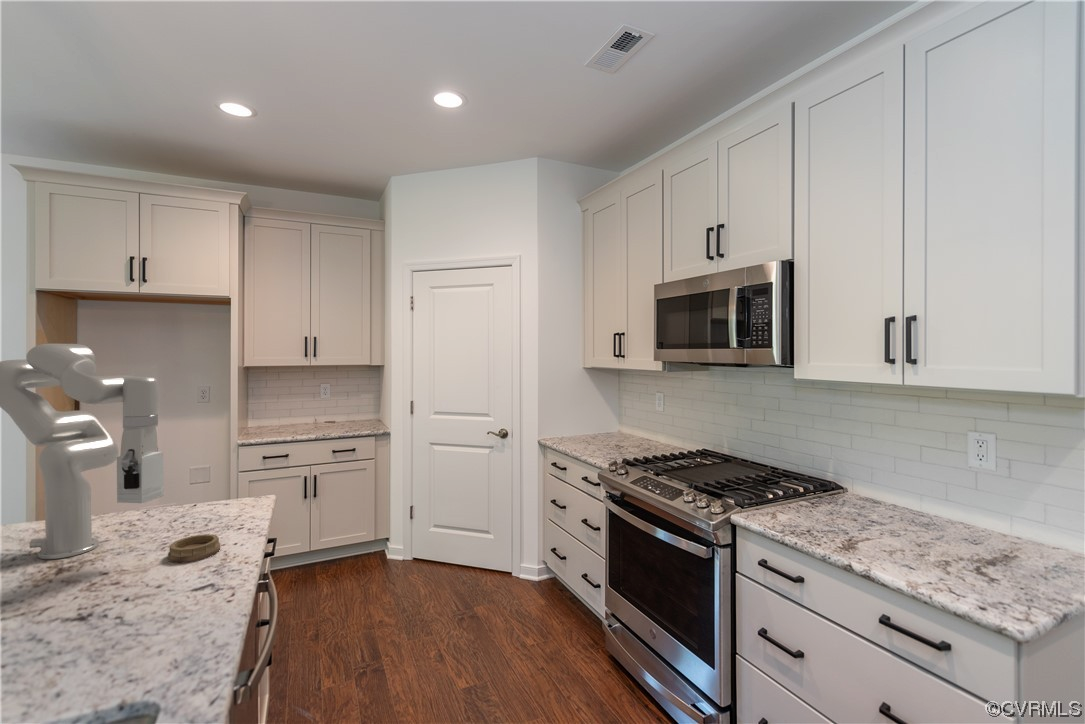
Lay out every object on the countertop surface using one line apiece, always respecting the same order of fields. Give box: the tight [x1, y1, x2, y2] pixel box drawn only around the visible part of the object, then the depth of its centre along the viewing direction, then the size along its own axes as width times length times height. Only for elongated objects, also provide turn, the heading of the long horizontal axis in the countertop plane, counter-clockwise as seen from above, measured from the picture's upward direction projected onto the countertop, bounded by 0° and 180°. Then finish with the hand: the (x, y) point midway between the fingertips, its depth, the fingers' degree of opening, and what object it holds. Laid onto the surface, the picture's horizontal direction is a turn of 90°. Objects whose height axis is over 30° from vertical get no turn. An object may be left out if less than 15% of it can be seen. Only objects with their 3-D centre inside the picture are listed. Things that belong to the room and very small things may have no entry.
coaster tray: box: [167, 533, 221, 564], centre depth 138 cm, size 12×12×4 cm
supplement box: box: [116, 451, 164, 504], centre depth 135 cm, size 7×7×13 cm
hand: (140, 483), depth 135 cm, fingers closed on supplement box, 9 cm apart
